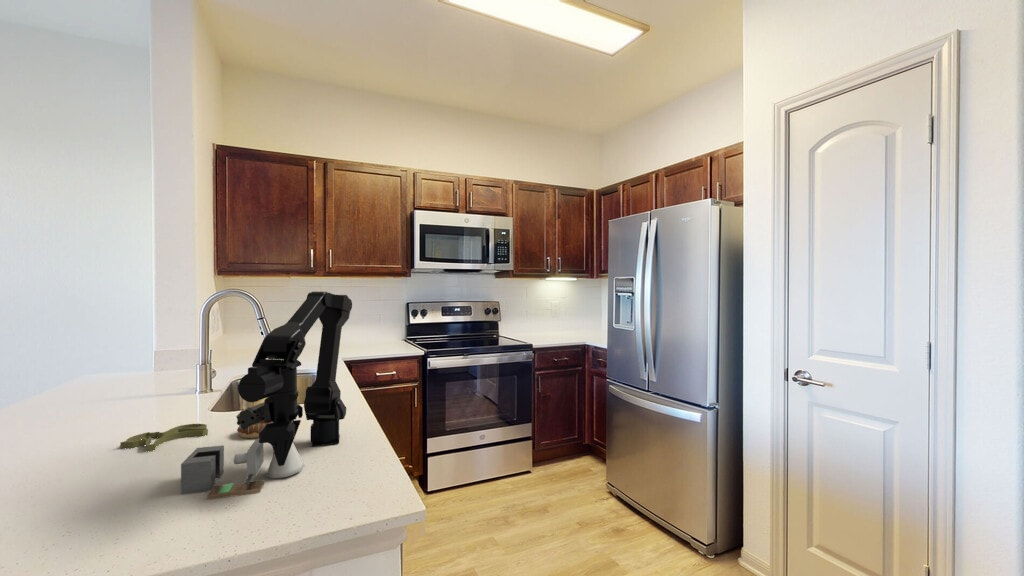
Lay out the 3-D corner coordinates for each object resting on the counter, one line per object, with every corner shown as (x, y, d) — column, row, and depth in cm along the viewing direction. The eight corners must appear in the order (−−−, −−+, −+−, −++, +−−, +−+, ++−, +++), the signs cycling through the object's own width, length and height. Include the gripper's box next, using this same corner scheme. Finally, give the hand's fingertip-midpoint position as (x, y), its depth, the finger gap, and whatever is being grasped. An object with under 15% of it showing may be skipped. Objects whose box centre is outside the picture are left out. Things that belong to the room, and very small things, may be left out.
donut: (289, 429, 125) (289, 415, 125) (262, 441, 115) (262, 426, 115) (257, 426, 127) (257, 413, 127) (227, 439, 117) (227, 424, 117)
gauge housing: (272, 466, 98) (272, 440, 98) (260, 492, 86) (260, 462, 86) (196, 475, 93) (197, 448, 93) (172, 504, 81) (172, 472, 81)
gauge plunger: (263, 461, 97) (263, 438, 97) (250, 484, 86) (251, 458, 86) (239, 464, 96) (240, 440, 96) (224, 487, 84) (224, 461, 84)
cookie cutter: (138, 456, 105) (138, 448, 105) (114, 448, 110) (114, 440, 110) (216, 434, 121) (216, 427, 121) (192, 428, 126) (192, 421, 126)
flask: (288, 480, 91) (285, 433, 91) (259, 478, 92) (256, 432, 92) (311, 465, 98) (308, 421, 98) (283, 463, 100) (280, 421, 99)
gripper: (250, 384, 101) (250, 450, 101) (228, 404, 83) (229, 485, 84) (302, 380, 105) (303, 444, 105) (292, 399, 87) (293, 475, 87)
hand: (283, 460), depth 95 cm, fingers closed on flask, 5 cm apart
